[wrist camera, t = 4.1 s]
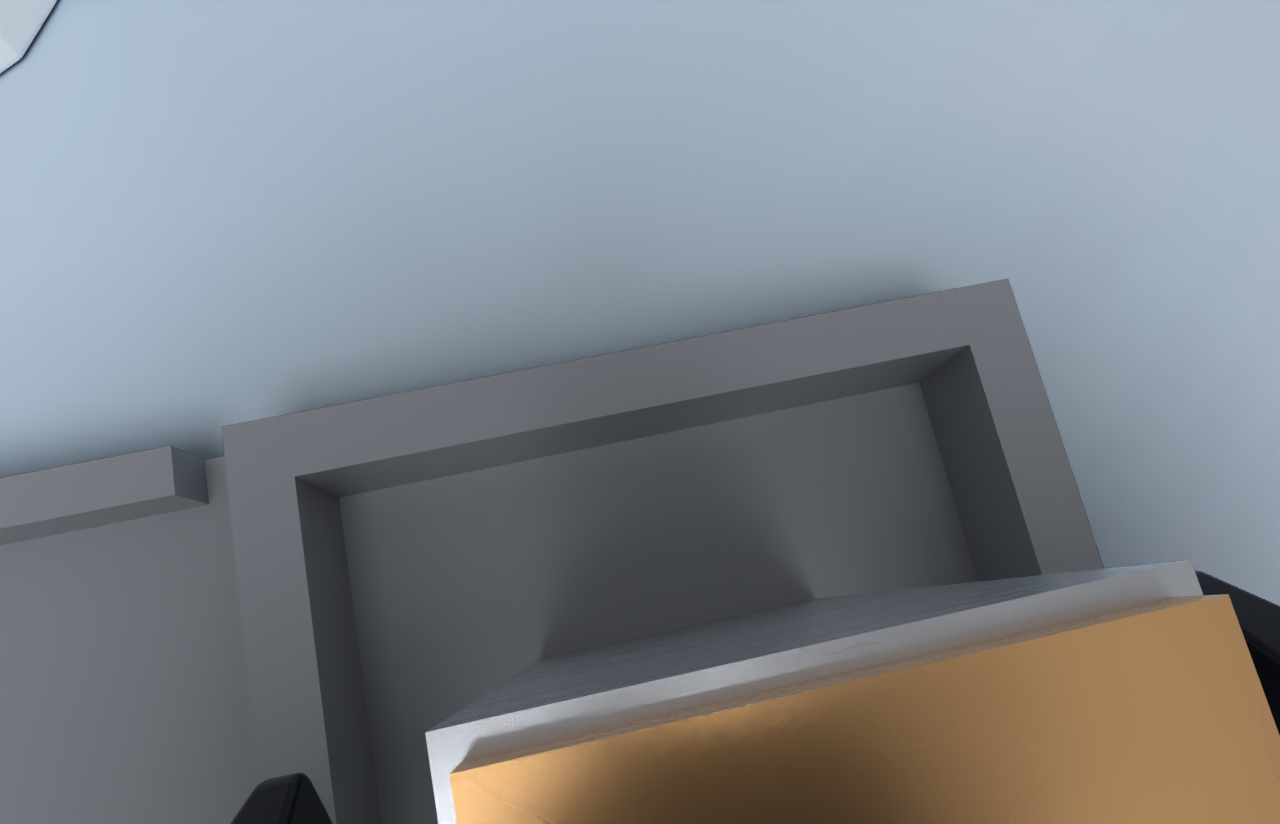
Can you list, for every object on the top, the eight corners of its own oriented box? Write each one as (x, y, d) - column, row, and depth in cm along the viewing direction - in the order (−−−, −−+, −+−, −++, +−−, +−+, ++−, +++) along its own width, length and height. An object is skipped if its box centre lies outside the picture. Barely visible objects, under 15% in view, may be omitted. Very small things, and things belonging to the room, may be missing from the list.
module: (875, 836, 14) (1544, 1356, 4) (583, 909, 14) (541, 1695, 4) (815, 598, 15) (1246, 552, 5) (539, 659, 15) (405, 744, 5)
